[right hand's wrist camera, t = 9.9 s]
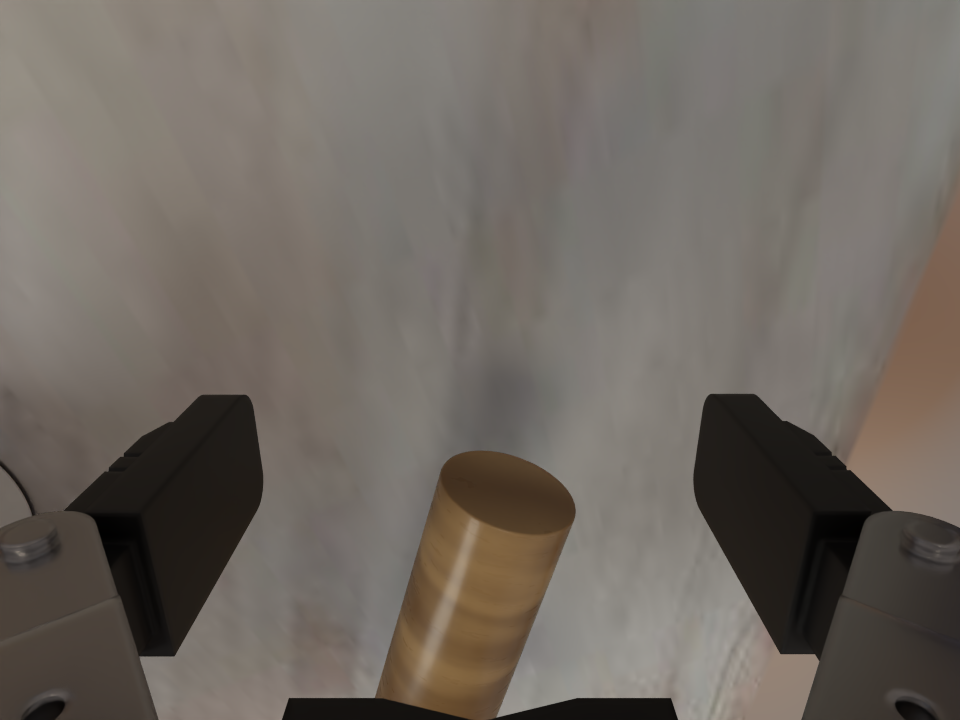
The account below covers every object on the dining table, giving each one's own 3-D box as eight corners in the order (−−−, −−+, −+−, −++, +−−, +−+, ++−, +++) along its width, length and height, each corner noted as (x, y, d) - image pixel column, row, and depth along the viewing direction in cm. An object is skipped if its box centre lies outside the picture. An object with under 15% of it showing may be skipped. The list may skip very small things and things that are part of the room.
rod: (443, 438, 30) (436, 515, 24) (566, 467, 30) (587, 549, 25) (345, 783, 39) (322, 899, 33) (441, 800, 39) (435, 917, 33)
